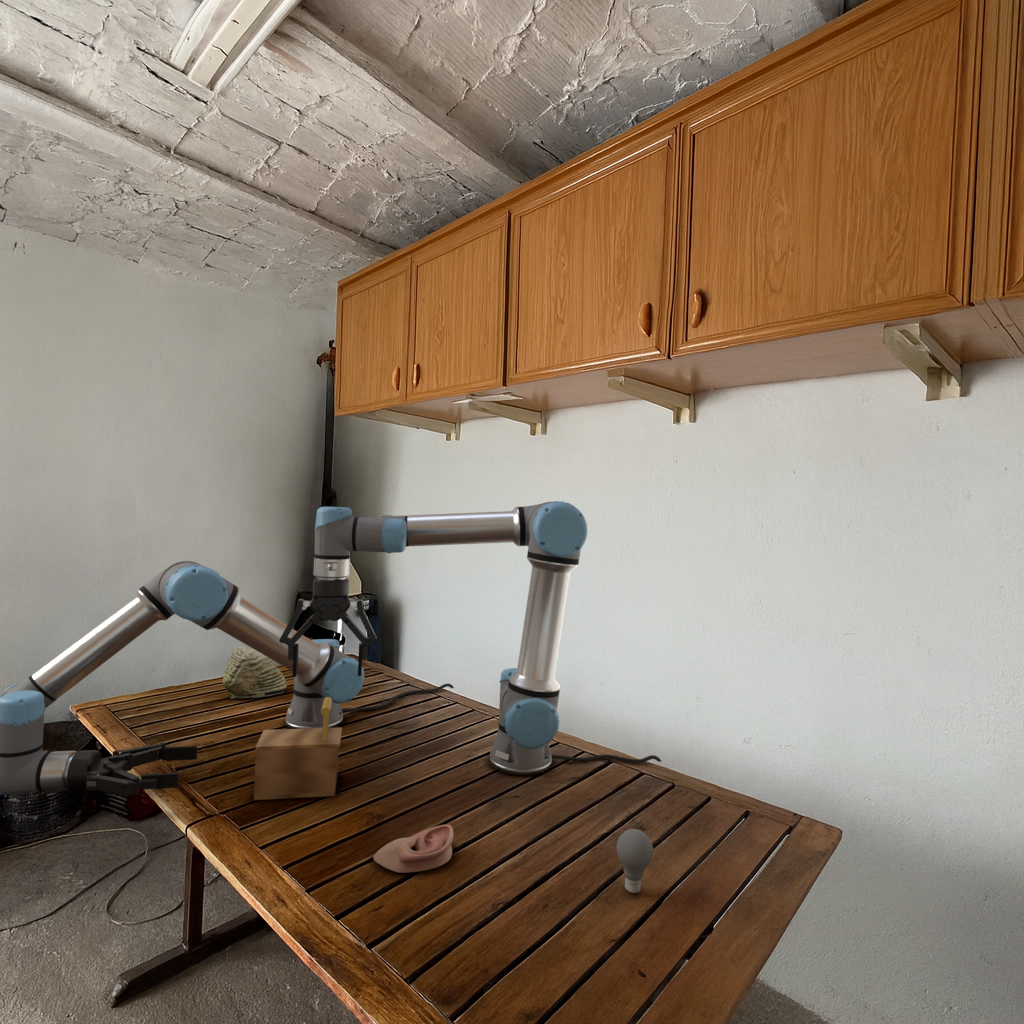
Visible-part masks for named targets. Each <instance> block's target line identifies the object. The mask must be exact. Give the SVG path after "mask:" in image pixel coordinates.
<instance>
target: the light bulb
mask: <svg viewBox="0 0 1024 1024" xmlns="http://www.w3.org/2000/svg"><path fill="white" fill-rule="evenodd" d="M615 849H616V854H617V857H618V859H619V861H620V863H621V865H622V867H623V873H624V874H623V875H624V876H625V878H624V888H625V890H627V891H628V892H630V893H634V894H635V893H639V892H640V891H641V889H642V887H641V886H642V879H643V877H644V875H645V871H646V868H647V867H648V866H649V864H650V863H651V861H652V859H653V855H654V847H653V843H652V841H651V838H649V836H648V835H647V834H646V833H645V832H643V831H642V830H641V829H636V828H629V829H627V830H625V831H623V832H622V833H621V834H620V835H619V837H618V839H617V841H616V847H615Z"/></svg>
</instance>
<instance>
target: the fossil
mask: <svg viewBox="0 0 1024 1024" xmlns="http://www.w3.org/2000/svg"><path fill="white" fill-rule="evenodd" d="M222 676H223V677H222V685H223V687H224V688H225V690H226V691H228V693H229V698H230V699H250V698H264V697H271V696H275V695H281V694H284V693H285V691H286V689H287V687H288V686H287V680H286V678H285V676H284V674H283V673H282V672H281V669H279V668H278V667H277V665H276V662H275V661H274V660H272V659H270V658H268V657H267V656H265V655H263V654H261V653H260V652H258V651H256V650H255V649H253V648H251V647H247V646H246V647H245V646H238V647H237V648H236V649H235V650H233V651H232V653H231V656H230V657H229V659H228V660H227V663H226V666H225V668H224V671H223V675H222Z"/></svg>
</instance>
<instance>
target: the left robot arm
mask: <svg viewBox="0 0 1024 1024" xmlns="http://www.w3.org/2000/svg"><path fill="white" fill-rule="evenodd" d="M240 593H241V592H240V588H239V587H238V585H236V584H234V583H232V582H231V581H229V580H228V579H226V578H224V577H223V576H221V575H220V573H218V572H217V571H216V570H214V569H212V568H210V567H207V566H204V565H202V564H201V563H198V562H196V561H191V560H182V561H177V562H175V563H174V562H173V563H172V564H170V565H168V566H167V567H165V568H164V569H163V570H161V571H160V572H159V573H158V574H156V575H155V576H154V577H152V578H151V579H150V580H148V581H147V582H146V583H145V584H144V585H142V586H141V587H139V588H138V589H137V590H136V596H135V597H133V598H132V599H131V600H129V601H128V602H127V603H126V604H124V605H123V606H122V607H120V608H119V609H117V610H116V611H115V612H113V613H112V614H111V615H109V616H108V617H107V618H105V619H104V620H103V621H102V622H100V623H99V624H97V625H96V626H95V627H93V628H92V629H90V630H89V631H88V632H87V633H86V634H84V635H82V636H81V637H80V638H79V639H77V640H76V641H75V642H73V643H72V644H71V645H70V646H68V647H67V648H65V649H64V650H62V651H61V652H60V653H59V654H57V655H56V656H54V657H53V658H51V660H49V661H48V662H46V663H45V664H43V666H41V667H40V668H38V669H36V671H34V672H33V673H32V674H31V675H29V676H27V677H26V678H25V679H23V680H22V681H21V682H16V683H14V684H12V685H10V686H9V687H7V688H6V689H5V690H4V691H3V692H2V693H1V695H0V795H5V796H7V795H15V794H17V795H18V794H31V793H47V792H49V793H50V792H53V793H54V794H58V793H60V792H67V791H69V790H70V791H74V792H75V791H98V792H102V793H103V792H104V793H108V794H112V795H113V794H114V795H120V796H125V797H130V796H138V795H140V790H157V789H158V790H159V789H177V788H178V787H179V772H162V773H161V772H160V773H158V772H157V773H142V774H141V775H140V776H138V775H136V774H133V773H131V772H129V771H132V770H133V768H136V767H139V766H143V765H147V764H151V763H154V762H156V761H160V760H163V761H164V762H168V761H169V762H170V761H171V762H172V761H191V760H192V761H193V760H197V759H198V745H186V746H167V743H166V742H159V743H155V744H150V745H143V746H139V747H133V748H127V749H119V750H118V749H117V750H113V751H112V755H111V756H108V757H103V756H102V753H101V752H100V751H99V750H97V749H93V750H92V749H89V750H87V749H86V750H79V751H76V750H60V751H57V750H56V751H44V728H45V727H44V726H45V712H46V709H47V708H48V707H49V706H51V705H52V704H54V702H56V701H57V700H58V699H59V698H60V697H62V696H63V695H64V694H66V693H67V692H69V691H70V690H71V689H72V688H74V687H75V686H76V685H77V684H79V683H80V682H81V681H82V680H83V679H85V678H87V677H88V676H89V675H90V674H92V673H93V672H95V670H97V669H98V668H99V667H101V666H102V665H103V664H105V663H106V662H107V661H108V660H110V659H111V658H113V657H114V656H115V655H116V654H117V653H119V652H120V651H122V650H123V649H124V648H125V647H127V646H128V645H129V644H130V643H131V642H133V641H134V640H136V639H137V638H138V637H140V636H141V635H143V633H145V632H146V631H148V629H150V628H151V627H153V625H155V624H157V623H158V622H159V621H168V619H170V618H171V617H172V616H174V615H176V616H177V617H178V618H181V619H182V620H187V621H190V622H192V623H193V624H195V625H197V626H198V627H201V628H202V629H204V630H206V631H209V630H215V629H218V630H220V631H221V632H223V633H225V634H227V635H229V636H230V637H232V638H234V639H235V640H237V641H239V642H240V643H242V644H244V645H245V646H248V648H250V649H255V650H256V651H258V652H260V653H261V654H263V655H265V656H267V657H268V658H270V659H272V660H273V661H274V663H277V664H279V665H280V666H282V667H284V668H286V669H287V670H289V671H291V672H293V660H290V661H289V660H288V645H287V644H284V643H280V641H279V640H280V638H281V636H282V634H283V632H284V631H285V629H286V627H287V625H288V624H285V623H284V622H282V621H281V620H279V619H277V618H276V617H274V616H273V615H271V614H269V613H268V612H266V611H264V610H263V609H261V608H260V607H258V606H257V605H255V604H253V603H252V602H250V601H249V600H247V599H245V598H243V597H242V596H241V594H240ZM297 631H298V630H295V629H294V628H292V630H291V632H290V634H289V635H288V637H289V638H292V637H293V636H294V634H295V633H296V632H297ZM295 644H299V648H298V673H297V676H296V677H293V695H292V696H293V697H292V699H291V702H290V704H289V707H288V709H287V711H286V712H287V713H286V715H285V726H286V728H287V729H309V728H323V718H324V715H322V714H321V709H322V705H323V701H324V699H325V698H326V697H330V698H331V699H332V703H331V708H330V713H329V722H328V728H338V727H339V726H340V725H342V723H343V722H344V714H343V713H346V712H349V713H350V712H353V713H354V712H365V711H373V710H379V709H382V708H385V707H387V706H388V705H390V704H391V703H392V702H393V701H395V700H397V699H400V698H401V697H402V698H403V697H404V696H408V695H412V694H422V693H432V692H433V693H435V692H438V691H440V690H442V689H445V688H447V687H448V688H450V689H454V688H455V687H454V685H453V684H451V683H444V684H441V685H440V686H438V687H434V688H427V689H426V688H424V689H414V690H408V691H404V692H401V693H398V694H396V695H394V696H392V697H390V698H389V699H388V700H387V701H386V702H384V703H382V704H377V705H373V706H366V707H365V706H363V707H346V708H345V707H343V708H342V706H341V704H344V703H347V702H350V701H351V700H353V699H355V698H356V696H358V694H359V693H360V691H361V689H362V688H363V686H364V681H365V670H364V667H362V673H361V676H358V659H356V658H354V657H351V656H349V655H347V654H346V653H344V652H343V651H341V650H340V647H341V646H340V642H339V640H338V639H334V638H323V639H322V638H319V639H310V638H308V637H306V636H305V635H304V634H303V635H302V636H301V637H300V638H299V639H298V640H297V642H296V643H295Z"/></svg>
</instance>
